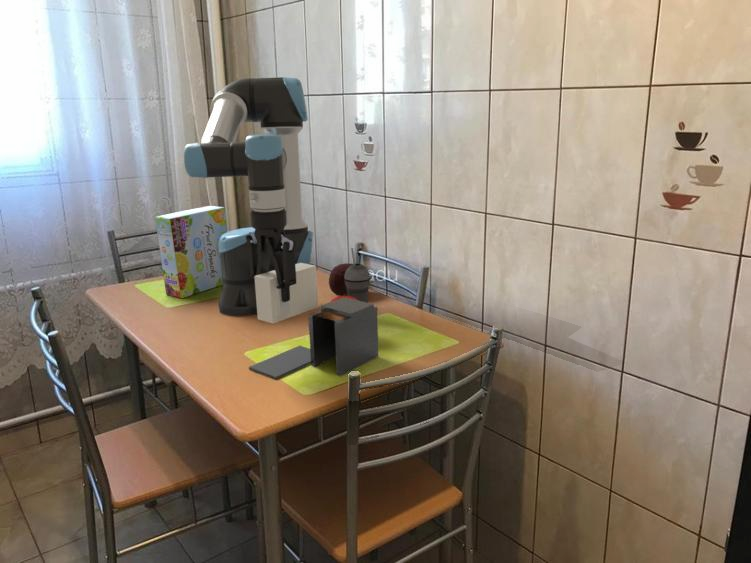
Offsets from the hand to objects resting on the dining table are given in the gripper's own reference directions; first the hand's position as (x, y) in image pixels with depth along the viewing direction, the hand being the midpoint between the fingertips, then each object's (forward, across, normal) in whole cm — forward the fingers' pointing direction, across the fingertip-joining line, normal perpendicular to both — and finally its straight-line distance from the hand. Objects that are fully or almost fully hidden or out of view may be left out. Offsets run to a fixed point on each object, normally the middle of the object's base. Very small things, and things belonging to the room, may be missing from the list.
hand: (275, 312), depth 140 cm
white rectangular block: (+1, 0, +4) cm, 4 cm away
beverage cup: (+13, -7, +36) cm, 39 cm away
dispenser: (+13, +10, +12) cm, 20 cm away
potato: (+13, -23, +50) cm, 57 cm away
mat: (+13, 0, +3) cm, 14 cm away
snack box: (+13, -68, +27) cm, 75 cm away
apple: (+14, 0, +23) cm, 27 cm away
